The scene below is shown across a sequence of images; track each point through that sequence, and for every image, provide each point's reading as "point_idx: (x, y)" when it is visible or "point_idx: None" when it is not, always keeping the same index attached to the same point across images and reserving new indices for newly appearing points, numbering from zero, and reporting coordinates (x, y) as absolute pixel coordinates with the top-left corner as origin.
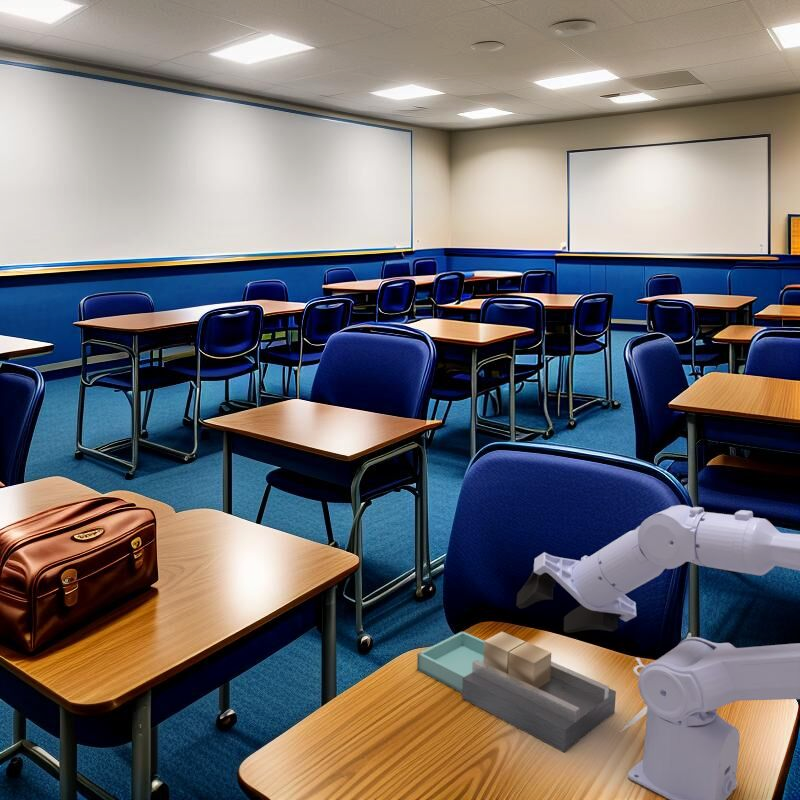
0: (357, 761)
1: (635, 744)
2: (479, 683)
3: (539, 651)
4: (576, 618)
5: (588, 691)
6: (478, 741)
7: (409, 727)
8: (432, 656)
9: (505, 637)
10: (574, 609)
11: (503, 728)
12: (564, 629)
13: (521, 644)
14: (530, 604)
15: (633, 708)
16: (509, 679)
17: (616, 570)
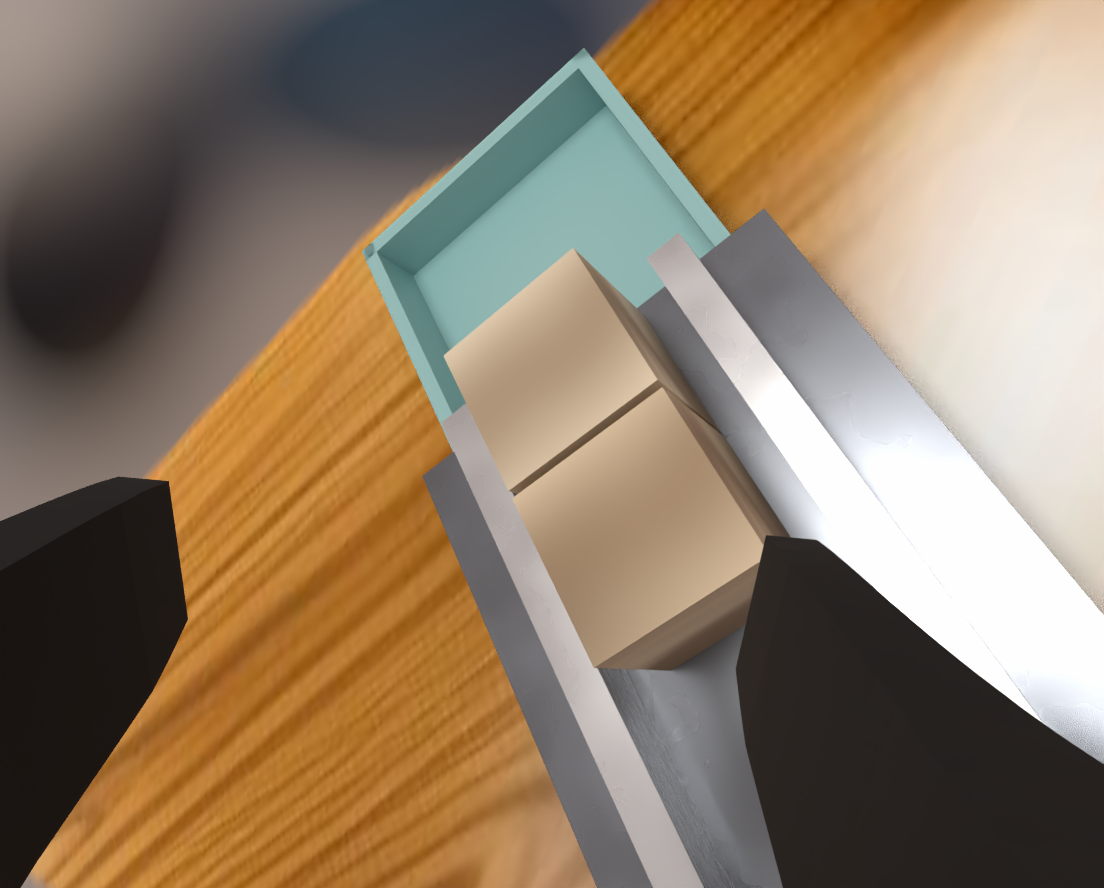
0: (121, 766)
1: None
2: (465, 536)
3: (693, 522)
4: (804, 759)
5: None
6: (432, 800)
7: (276, 637)
8: (443, 228)
9: (564, 320)
10: (826, 611)
11: None
12: (738, 668)
13: (624, 408)
14: (87, 781)
15: None
16: (533, 619)
17: None
